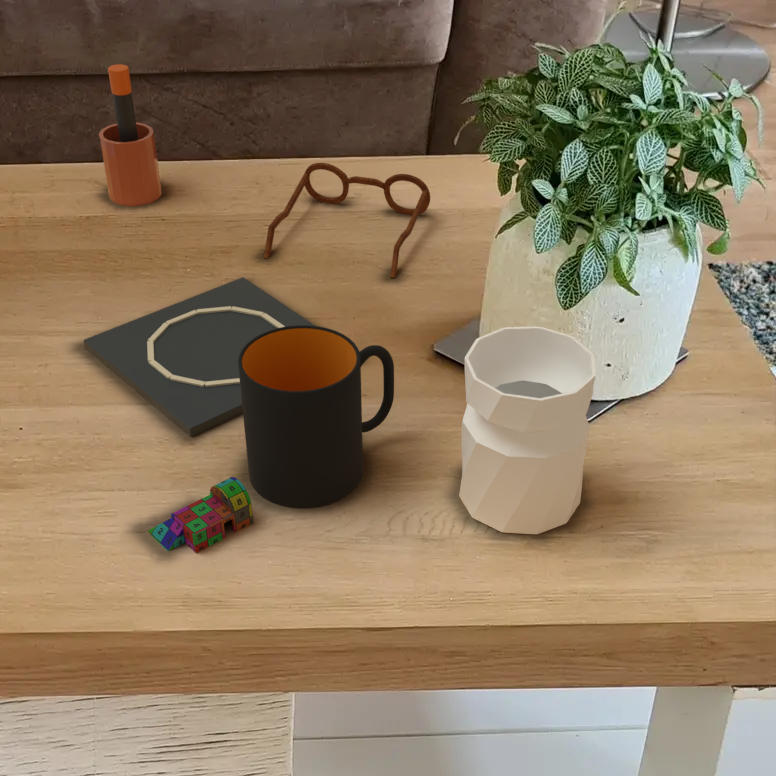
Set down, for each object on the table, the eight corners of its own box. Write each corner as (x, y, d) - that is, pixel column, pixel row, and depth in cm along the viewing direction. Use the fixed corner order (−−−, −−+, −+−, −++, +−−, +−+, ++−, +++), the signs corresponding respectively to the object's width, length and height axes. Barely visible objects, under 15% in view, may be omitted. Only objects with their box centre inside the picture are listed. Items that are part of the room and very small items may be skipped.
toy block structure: (220, 497, 83) (216, 460, 81) (253, 526, 81) (250, 489, 79) (147, 534, 80) (140, 497, 78) (179, 566, 78) (173, 528, 76)
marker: (133, 198, 118) (114, 72, 110) (123, 192, 119) (104, 67, 111) (149, 193, 119) (132, 68, 111) (140, 186, 120) (121, 62, 112)
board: (191, 441, 88) (189, 426, 87) (85, 351, 97) (82, 337, 96) (355, 363, 97) (355, 349, 96) (244, 288, 106) (242, 274, 105)
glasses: (431, 219, 118) (432, 173, 114) (394, 282, 108) (394, 233, 104) (307, 201, 120) (305, 156, 117) (260, 261, 110) (256, 213, 107)
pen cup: (126, 214, 117) (116, 148, 112) (100, 196, 120) (89, 131, 115) (171, 199, 120) (163, 134, 115) (144, 181, 122) (135, 117, 118)
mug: (426, 463, 87) (428, 347, 80) (288, 528, 81) (279, 407, 75) (362, 410, 92) (360, 296, 86) (228, 467, 86) (215, 349, 80)
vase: (513, 446, 89) (524, 311, 81) (604, 499, 84) (624, 362, 77) (433, 498, 84) (436, 359, 76) (524, 558, 79) (538, 417, 72)
